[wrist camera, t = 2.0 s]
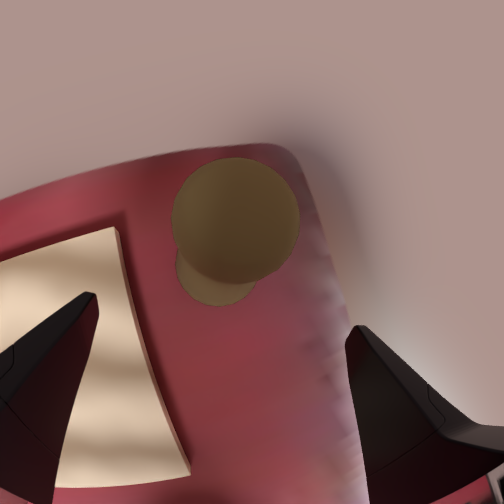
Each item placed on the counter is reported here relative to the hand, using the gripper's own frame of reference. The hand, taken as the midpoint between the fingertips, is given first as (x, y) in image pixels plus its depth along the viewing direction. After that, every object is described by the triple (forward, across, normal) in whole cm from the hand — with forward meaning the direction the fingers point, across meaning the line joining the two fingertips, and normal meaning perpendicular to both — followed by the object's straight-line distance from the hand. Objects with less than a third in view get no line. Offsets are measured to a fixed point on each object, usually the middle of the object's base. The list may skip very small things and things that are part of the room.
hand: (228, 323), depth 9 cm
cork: (+11, 0, +5) cm, 12 cm away
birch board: (+4, +10, +12) cm, 16 cm away
